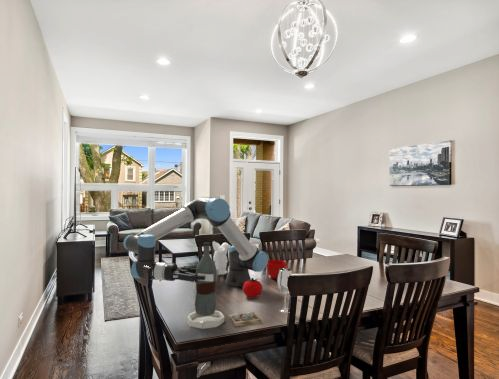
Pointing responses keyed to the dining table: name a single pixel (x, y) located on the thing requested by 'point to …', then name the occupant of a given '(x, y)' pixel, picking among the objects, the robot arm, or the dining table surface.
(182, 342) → the dining table surface
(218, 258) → the cherub figurine
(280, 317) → the dining table surface
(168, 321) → the dining table surface
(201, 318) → the bowl
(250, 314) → the pebble
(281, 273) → the wineglass
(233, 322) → the parts tray
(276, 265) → the ceramic cup
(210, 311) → the vodka
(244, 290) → the tomato
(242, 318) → the pebble
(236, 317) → the pebble
